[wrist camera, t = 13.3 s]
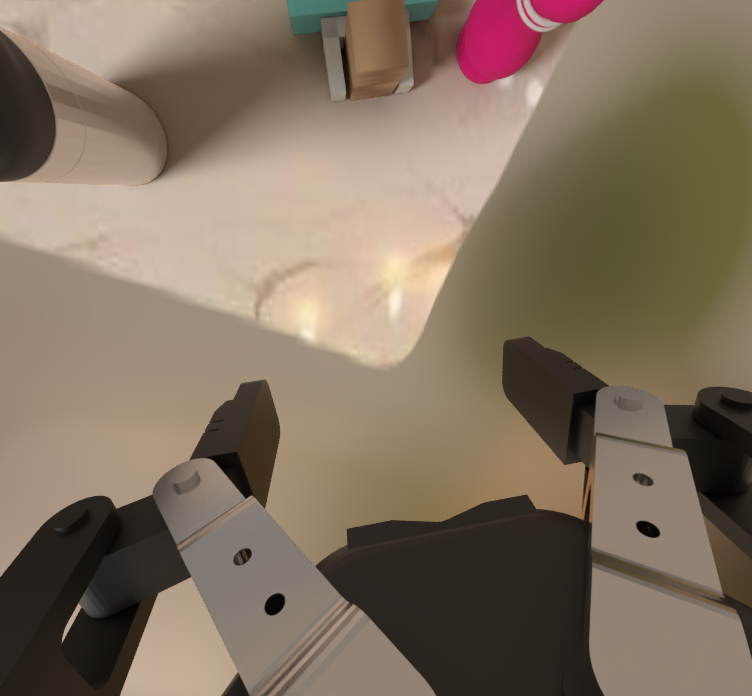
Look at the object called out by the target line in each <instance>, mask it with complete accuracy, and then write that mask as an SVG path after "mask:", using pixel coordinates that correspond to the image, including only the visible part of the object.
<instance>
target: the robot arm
mask: <svg viewBox="0 0 752 696" xmlns="http://www.w3.org/2000/svg"><path fill="white" fill-rule="evenodd" d="M166 158H167V141H166V136H165V132H164V130H163V128H162V125H161V123H160V121H159V120H158V118H157V116H156V115H155V113H154V112H153V111H152V110H151V109H150V107H149V106H148V105H147V104H146V103H145V102H143V101H142V100H141V99H140V98H139V97H137V96H136V95H134V94H132V93H130V92H129V91H127V90H125V89H123V88H121V87H119V86H117V85H115V84H113V83H111V82H109V81H107V80H105V79H103V78H101V77H99V76H97V75H95V74H93V73H91V72H89V71H87V70H85V69H83V68H81V67H79V66H77V65H75V64H73V63H71V62H69V61H67V60H65V59H63V58H61V57H59V56H57V55H55V54H53V53H51V52H49V51H47V50H45V49H43V48H41V47H39V46H37V45H35V44H33V43H31V42H29V41H27V40H25V39H23V38H21V37H19V36H17V35H15V34H13V33H11V32H9V31H7V30H5V29H3V28H1V27H0V182H28V183H65V184H95V185H118V186H137V185H143V184H146V183H148V182H150V181H152V180H153V179H155V178H156V177H157V176H158V175H159V174H160V172H161V171H162V169H163V167H164V165H165V163H166ZM502 374H503V375H502V384H503V389H504V392H505V395H506V397H507V398H508V400H509V401H510V402H511V403H512V404H513V405H514V407H515V408H516V409H517V410H518V411H519V412H520V414H521V415H522V416H523V417H524V418H525V419H526V421H527V422H528V423H529V424H530V425H531V426H532V428H534V430H535V431H536V432H537V433H538V435H539V436H540V437H541V438H542V439H543V440H544V442H545V443H546V444H547V445H548V446H549V447H550V448H551V449H552V451H553V452H554V453H555V454H556V456H557V457H558V458H559V459H560V460H561V461H562V463H563V464H564V465H567V464H572V463H578V462H583V463H584V464H585V470H584V477H583V488H582V501H581V513H580V519H579V518H577V517H574V516H571V515H568V514H564V513H560V512H556V511H550V510H543V509H536V508H535V506H534V505H533V503H532V502H531V500H530V499H529V497H528V496H527V495H522V496H517V497H511V498H506V499H501V500H496V501H490V502H485V503H482V504H480V505H478V506H476V507H474V508H471V509H469V510H467V511H465V512H463V513H461V514H459V515H456V516H454V517H452V518H450V519H448V520H445V521H442V522H423V521H396V520H391V521H386V522H381V523H376V524H371V525H365V526H360V527H355V528H350V529H347V542H348V545H346V546H344V547H342V548H340V549H338V550H337V551H335V552H333V553H331V554H330V555H329V556H327V557H326V558H324V559H323V560H322V561H321V562H319V563H318V564H317V565H316V566H314V564H312V562H311V561H310V560H309V559H308V558H307V556H306V555H305V554H304V553H303V552H302V551H301V550H300V549H299V547H298V546H297V545H296V544H295V543H294V542H293V541H292V539H291V538H290V537H289V536H288V535H287V534H286V533H285V532H284V530H283V529H282V528H281V527H280V526H279V525H278V523H277V522H276V521H275V520H274V519H273V518H272V517H271V515H270V514H269V513H268V512H267V511H266V510H265V506H266V502H267V497H268V492H269V487H270V482H271V477H272V473H273V468H274V463H275V458H276V453H277V449H278V444H279V439H280V425H279V420H278V416H277V413H276V409H275V406H274V403H273V399H272V396H271V392H270V389H269V385H268V383H267V381H266V380H259V381H254V382H247V383H242V384H241V385H240V387H239V389H238V391H237V394H236V395H235V397H234V399H233V400H229V401H226V402H225V403H224V404H223V405H222V406H220V407H219V408H218V409H217V410H216V411H215V412H214V414H213V416H212V418H211V420H210V424H208V426H207V428H206V429H205V433H203V435H202V437H201V439H200V441H199V443H198V445H197V447H196V448H195V451H194V452H193V454H192V456H191V458H190V460H189V461H187V462H184V463H182V464H180V465H178V466H176V467H174V468H172V469H171V470H170V471H168V472H167V473H166V474H164V475H163V476H162V478H160V479H159V481H158V482H157V483H156V485H155V487H154V489H153V495H150V496H148V497H146V498H143V499H140V500H138V501H135V502H133V503H130V504H128V505H125V506H123V507H120V508H118V509H116V507H115V506H114V504H113V502H112V501H111V499H110V498H108V497H106V496H93V497H89V498H85V499H83V500H80V501H78V502H75V503H73V504H71V505H69V506H67V507H66V508H64V509H63V510H61V511H59V512H58V513H56V514H55V515H54V516H53V517H51V518H50V519H49V520H48V521H46V522H45V523H44V524H43V525H42V526H41V527H40V529H39V530H38V531H37V532H36V533H35V535H34V536H33V537H32V539H31V540H30V541H29V542H28V543H27V545H26V546H25V547H24V548H23V550H22V551H21V552H20V553H19V555H18V556H17V557H16V558H15V560H14V561H13V562H12V563H11V565H10V566H9V567H8V568H7V570H6V571H5V572H4V573H3V575H2V576H1V577H0V696H120V694H121V691H122V688H123V686H124V683H125V680H126V678H127V675H128V672H129V669H130V667H131V664H132V662H133V659H134V656H135V653H136V651H137V648H138V646H139V642H140V640H141V637H142V635H143V632H144V629H145V627H146V624H147V621H148V619H149V616H150V613H151V611H152V608H153V605H154V603H155V600H156V597H157V595H158V593H159V592H161V591H163V590H165V589H167V588H169V587H172V586H174V585H176V584H178V583H180V582H182V581H184V580H186V579H188V578H190V577H192V579H193V581H194V583H195V585H196V587H197V589H198V591H199V593H200V595H201V597H202V599H203V601H204V603H205V605H206V607H207V609H208V611H209V613H210V615H211V617H212V620H213V622H214V624H215V626H216V628H217V630H218V632H219V634H220V636H221V638H222V640H223V642H224V644H225V646H226V648H227V650H228V652H229V654H230V656H231V658H232V660H233V662H234V664H235V666H236V668H237V670H238V673H237V674H236V675H235V677H234V679H233V680H232V681H231V683H230V684H229V685H228V687H227V688H226V690H225V691H224V693H223V694H222V695H221V696H752V608H751V607H749V606H747V605H745V604H743V603H741V602H740V601H737V600H736V599H734V598H732V597H730V596H728V595H726V594H724V593H723V592H722V589H721V586H720V582H719V578H718V574H717V570H716V566H715V562H714V558H713V555H712V551H711V547H710V544H709V539H708V535H707V531H706V527H705V523H704V519H703V515H704V516H705V517H707V518H708V519H709V520H710V521H711V522H712V523H713V524H714V525H715V526H716V527H717V528H718V529H719V530H720V531H722V532H723V533H724V534H725V535H726V536H727V537H728V538H729V539H730V540H731V541H732V542H733V543H734V544H735V545H736V546H737V547H739V548H740V549H741V550H742V551H743V552H744V553H745V554H746V555H747V556H748V557H749V558H750V559H751V560H752V392H748V391H744V390H740V389H735V388H728V387H708V388H705V389H702V390H700V391H699V393H698V395H697V398H696V401H695V405H694V406H693V405H663V403H662V401H661V400H660V399H659V398H657V397H656V396H655V395H653V394H651V393H649V392H647V391H644V390H641V389H638V388H634V387H629V386H609V385H607V384H606V383H604V382H603V381H601V380H600V379H599V378H597V377H596V376H594V375H593V374H591V373H590V372H588V371H587V370H586V369H582V367H581V366H580V365H578V364H577V363H576V362H573V360H571V359H570V358H568V357H567V356H565V355H564V354H563V353H560V352H557V351H555V350H552V349H549V348H545V347H543V346H542V345H541V344H539V343H538V342H536V341H535V340H534V339H532V338H531V337H522V338H516V339H511V340H506V341H505V342H504V346H503V371H502ZM702 514H703V515H702ZM78 603H79V604H80V605H81V607H82V608H81V609H80V611H79V613H78V615H77V617H76V619H75V621H74V622H73V624H72V626H71V628H70V630H69V632H68V633H67V635H66V637H65V639H64V641H63V643H62V637H63V633H64V630H65V627H66V625H67V623H68V621H69V619H70V617H71V616H72V614H73V611H74V610H75V608H76V606H77V605H78Z"/></svg>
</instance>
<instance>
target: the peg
mask: <svg viewBox="0 0 752 696" xmlns="http://www.w3.org/2000/svg"><path fill="white" fill-rule="evenodd" d="M344 54H345V62H346V70H347V77H348V85H349V92H350V100H357V99H365V98H373V97H381V96H389V95H391V94H392V93H393V91H394V89H395V88H396V86H397V84H398V83H399V81H400V80H401V78H402V76H403V75H404V73H405V72H406V70H407V68H408V67H409V57H408V43H407V29H406V15H405V1H404V0H363V1H354V2H348V8H347V19H346V30H345V41H344Z"/></svg>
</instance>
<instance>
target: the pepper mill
mask: <svg viewBox="0 0 752 696" xmlns="http://www.w3.org/2000/svg"><path fill="white" fill-rule="evenodd" d="M602 1H603V0H477V1H476V3H475V4H474V6H473V8H472V10H471V11H470V14H469V16H468V20H467V22H466V24H465V25H464V27H463V28H462V30H461V33H460V35H459V38H458V43H457V59H458V63H459V66H460V69H461V71H462V72H463V74H464V75H465V76H466V77H467V78H468V79H469V80H471V81H473V82H475V83H478V84H486V83H490V82H492V81H494V80H496V79H502V78H505V77H508V76H510V75H512V74H514V73H515V72H516V71H518V70H519V69H520V68H521V67H522V66H524V65H525V64H526V63H527V61H528V60H529V59H530V58H531V56H532V54H533V53H534V51H535V49H536V48H537V46H538V44H539V42H540V39H541V36H542V33H543V32H547V31H551V30H553V29H555V28H557V27H558V26H560V25H561V24H562V23H569V22H573V21H577V20H579V19H581V18H582V17H584V16H586V15H587V14H589V13H590V12H592V11H593V10H594V9H595V8H596V7H597V6H598V5H599V4H600V3H601V2H602Z"/></svg>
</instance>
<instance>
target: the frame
mask: <svg viewBox="0 0 752 696" xmlns="http://www.w3.org/2000/svg"><path fill="white" fill-rule="evenodd" d="M405 15H406V29H407V43H408V57H409V67H408V68H407V70H406V72H405V73H404V75H403V76H402V78H401V80H400V81H399V83H398V84H397V86H396V88H395V89H394V93H395V94H399V93H407V92H409V90H410V89H411V88H412V87H413V85H414V80H413V65H412V49H411V34H410V19H409V9H405ZM346 19H347V15H346V16H337V17H328V18H320V22H321V35H322V41H323V48H324V55H325V62H326V69H327V75H328V82H329V89H330V96H331V102H333V101H342V100H345V97H346V88H345V80H344V73H343V65H342V58H341V50H340V48H344V41H345V30H346Z"/></svg>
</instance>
